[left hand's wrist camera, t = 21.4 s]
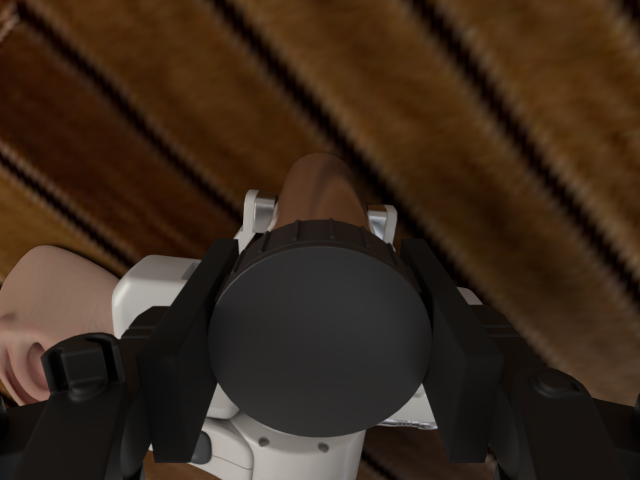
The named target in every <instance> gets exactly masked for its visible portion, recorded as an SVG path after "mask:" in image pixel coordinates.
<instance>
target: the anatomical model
mask: <svg viewBox="0 0 640 480" xmlns="http://www.w3.org/2000/svg"><path fill="white" fill-rule="evenodd" d="M119 281H120V280H119V279H118V278H117V277H116V276H114V275H113V274H111V273H110V272H108V271H107V270H105V269H104V268H102V267H100V266H98V265H96V264H95V263H93V262H91V261H89V260H87V259H85V258H83V257H81V256H79V255H77V254H75V253H72V252H70V251H67V250H65V249H62V248H59V247H55V246H50V245H42V246H37V247H35V248H33V249H32V250H30V251H29V252H28V253H27V254H25V255H24V256H23V257H22V258H21V259H20V261H19V262H18V263H17V265H16V266H15V267H14V268H13V270H12V271H11V272H10V274H9V275H8V276H7V278H6V280H5V282H4V284H3V286H2V288H1V290H0V379H1V380H2V382H3V384H4V385H5V387H6V388H7V390H8V391H9V393H10V394H11V396H12V397H13V398H14V400H15V401H16V402H17V403H18V404H19V405H20V406H22V405H27V404H31V403H36V402H40V401H44V400H48V398H49V396H50V391H49V388H48V384H47V381H46V377H45V374H44V370H43V367H42V363H41V359H40V357H41V356H42V355H43V354H44V353H45V352H46V351H47V349H49V348H50V347H52V346H54V345H55V344H57V343H58V342H60V341H63V340H65V339H68V338H70V337H73V336H76V335H80V334H85V333H92V332H104V333H109V334H112V335H114V328H113V319H112V294H113V291H114V289H115V287H116V285H117V284H118V282H119Z"/></svg>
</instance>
